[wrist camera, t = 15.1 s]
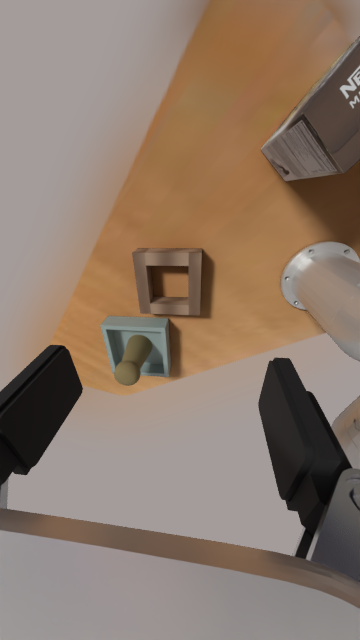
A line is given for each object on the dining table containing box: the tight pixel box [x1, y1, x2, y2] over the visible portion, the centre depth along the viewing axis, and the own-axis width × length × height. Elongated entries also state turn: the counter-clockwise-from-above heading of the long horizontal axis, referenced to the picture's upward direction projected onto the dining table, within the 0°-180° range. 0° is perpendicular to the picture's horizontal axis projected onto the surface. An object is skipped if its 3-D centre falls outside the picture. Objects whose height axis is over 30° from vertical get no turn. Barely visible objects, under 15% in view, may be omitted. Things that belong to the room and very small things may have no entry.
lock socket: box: [132, 248, 202, 315], centre depth 40 cm, size 12×12×4 cm
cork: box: [114, 335, 153, 386], centre depth 45 cm, size 6×6×11 cm
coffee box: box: [261, 36, 360, 181], centre depth 22 cm, size 9×6×16 cm
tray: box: [101, 316, 171, 377], centre depth 49 cm, size 14×14×4 cm
